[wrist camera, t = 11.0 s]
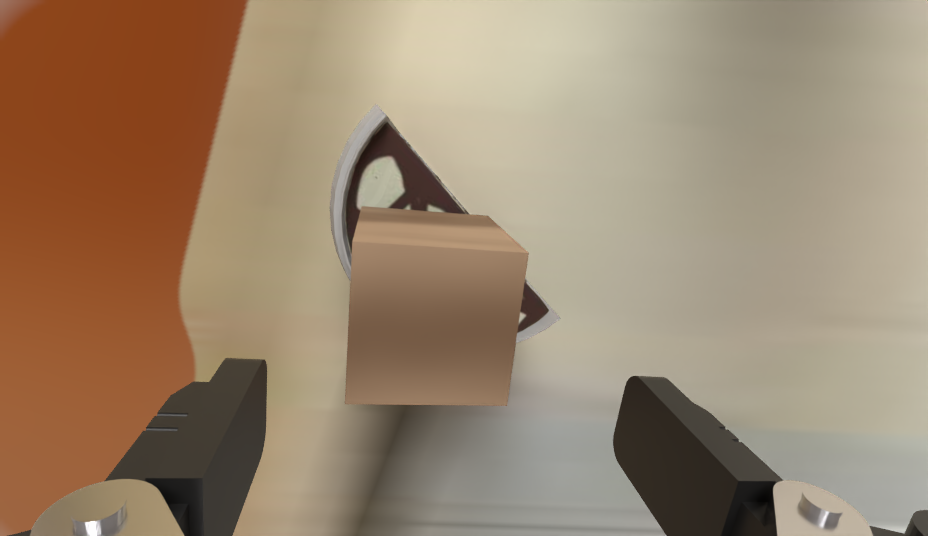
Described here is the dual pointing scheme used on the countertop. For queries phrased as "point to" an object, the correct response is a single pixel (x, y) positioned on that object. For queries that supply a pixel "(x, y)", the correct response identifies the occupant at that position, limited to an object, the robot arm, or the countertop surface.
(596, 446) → the countertop surface
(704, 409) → the robot arm
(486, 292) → the walnut block
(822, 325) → the countertop surface
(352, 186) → the food container
